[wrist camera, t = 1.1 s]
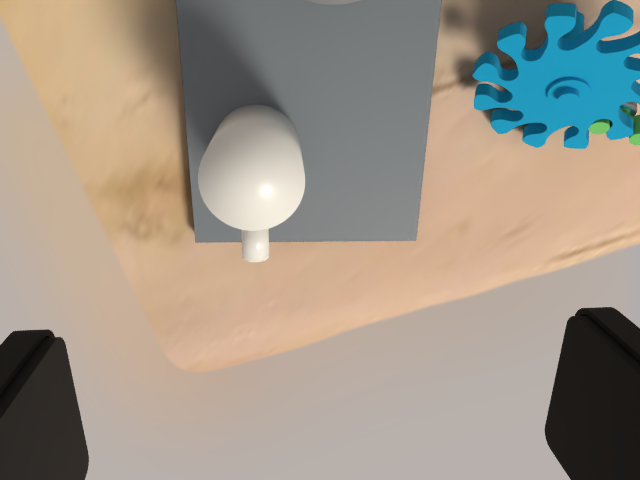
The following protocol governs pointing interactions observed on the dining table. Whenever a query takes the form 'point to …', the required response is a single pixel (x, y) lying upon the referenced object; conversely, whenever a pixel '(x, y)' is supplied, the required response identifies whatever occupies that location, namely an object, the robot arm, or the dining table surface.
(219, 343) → the dining table surface
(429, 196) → the dining table surface
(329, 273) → the dining table surface
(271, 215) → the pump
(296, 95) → the motor stand
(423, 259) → the dining table surface
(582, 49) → the gear
